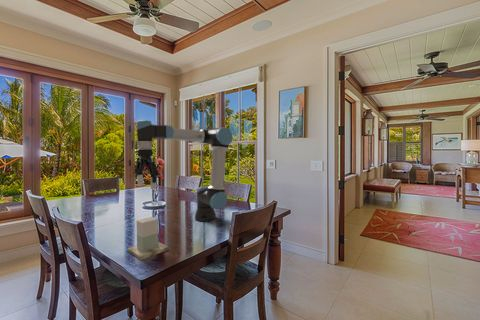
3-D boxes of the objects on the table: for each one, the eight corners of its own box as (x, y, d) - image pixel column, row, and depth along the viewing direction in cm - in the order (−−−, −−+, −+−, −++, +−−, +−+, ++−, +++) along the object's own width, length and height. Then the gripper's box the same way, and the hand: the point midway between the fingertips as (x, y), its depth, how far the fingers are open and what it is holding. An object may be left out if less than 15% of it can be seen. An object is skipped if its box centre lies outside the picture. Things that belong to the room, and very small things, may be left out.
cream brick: (152, 230, 119) (151, 216, 119) (158, 232, 115) (158, 219, 115) (136, 234, 113) (136, 220, 113) (142, 237, 109) (142, 222, 109)
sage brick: (152, 243, 120) (152, 230, 119) (158, 246, 116) (158, 232, 115) (137, 248, 114) (136, 234, 113) (142, 252, 110) (142, 237, 109)
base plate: (154, 242, 125) (154, 239, 125) (168, 249, 116) (168, 246, 115) (127, 251, 114) (127, 248, 114) (140, 260, 105) (140, 256, 105)
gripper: (127, 149, 132) (129, 186, 133) (151, 149, 116) (152, 190, 118) (140, 148, 138) (141, 184, 139) (164, 148, 122) (165, 188, 124)
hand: (146, 187), depth 128 cm, fingers open, 13 cm apart
